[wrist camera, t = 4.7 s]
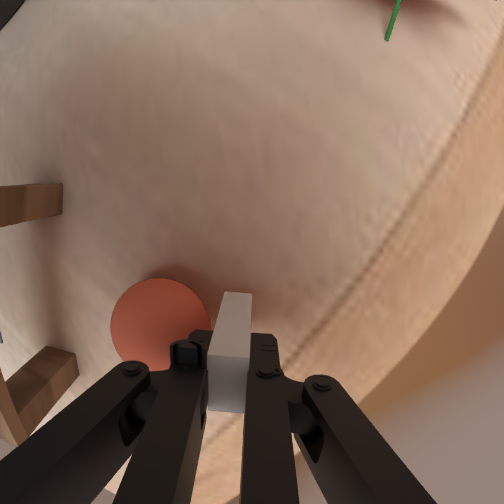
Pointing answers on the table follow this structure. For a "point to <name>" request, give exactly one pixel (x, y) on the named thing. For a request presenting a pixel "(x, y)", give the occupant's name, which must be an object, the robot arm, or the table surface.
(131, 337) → the ball
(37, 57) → the table surface
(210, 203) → the table surface
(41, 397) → the bridge
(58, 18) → the table surface
